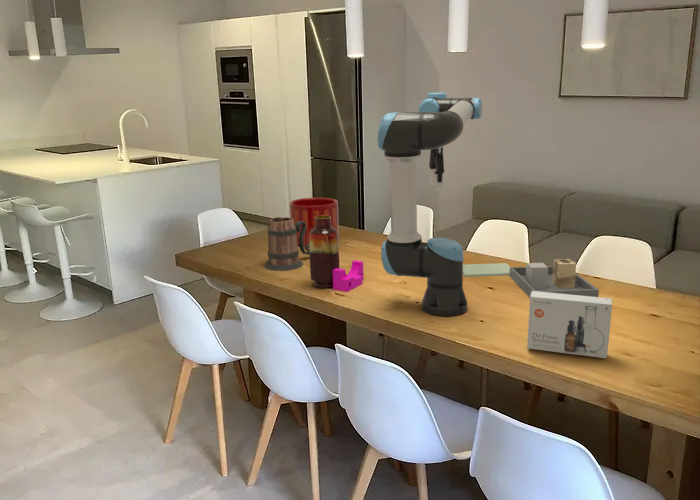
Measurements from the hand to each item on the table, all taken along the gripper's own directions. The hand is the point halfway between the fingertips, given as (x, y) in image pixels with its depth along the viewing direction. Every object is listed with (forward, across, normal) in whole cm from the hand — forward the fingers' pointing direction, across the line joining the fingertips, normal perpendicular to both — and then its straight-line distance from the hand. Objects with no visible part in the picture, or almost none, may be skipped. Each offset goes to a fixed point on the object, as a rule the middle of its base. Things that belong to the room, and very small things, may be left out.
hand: (436, 187), depth 249 cm
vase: (+33, -18, +45) cm, 59 cm away
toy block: (+33, -19, +35) cm, 52 cm away
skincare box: (+33, -86, -22) cm, 95 cm away
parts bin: (+33, -31, -37) cm, 58 cm away
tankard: (+33, +12, +60) cm, 70 cm away
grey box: (+32, -31, -32) cm, 55 cm away
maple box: (+32, -31, -42) cm, 61 cm away
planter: (+33, +48, +50) cm, 77 cm away
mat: (+33, -8, -19) cm, 39 cm away
